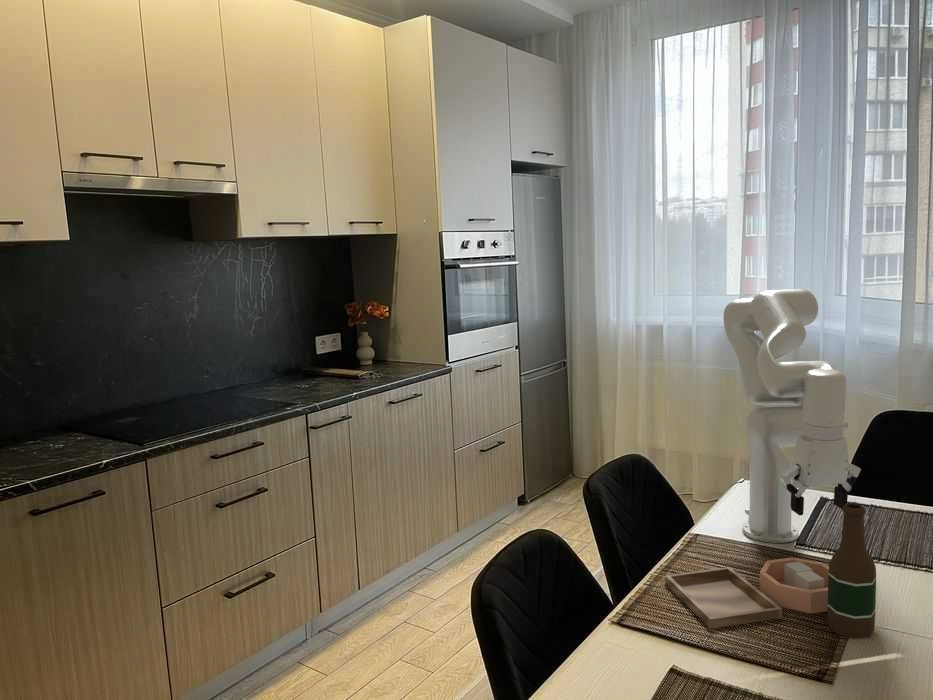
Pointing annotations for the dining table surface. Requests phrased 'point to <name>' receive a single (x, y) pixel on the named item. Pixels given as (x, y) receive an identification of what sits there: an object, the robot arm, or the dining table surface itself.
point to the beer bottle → (852, 580)
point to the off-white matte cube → (793, 572)
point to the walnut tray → (722, 597)
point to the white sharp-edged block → (808, 580)
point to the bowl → (793, 595)
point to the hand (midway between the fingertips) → (818, 509)
